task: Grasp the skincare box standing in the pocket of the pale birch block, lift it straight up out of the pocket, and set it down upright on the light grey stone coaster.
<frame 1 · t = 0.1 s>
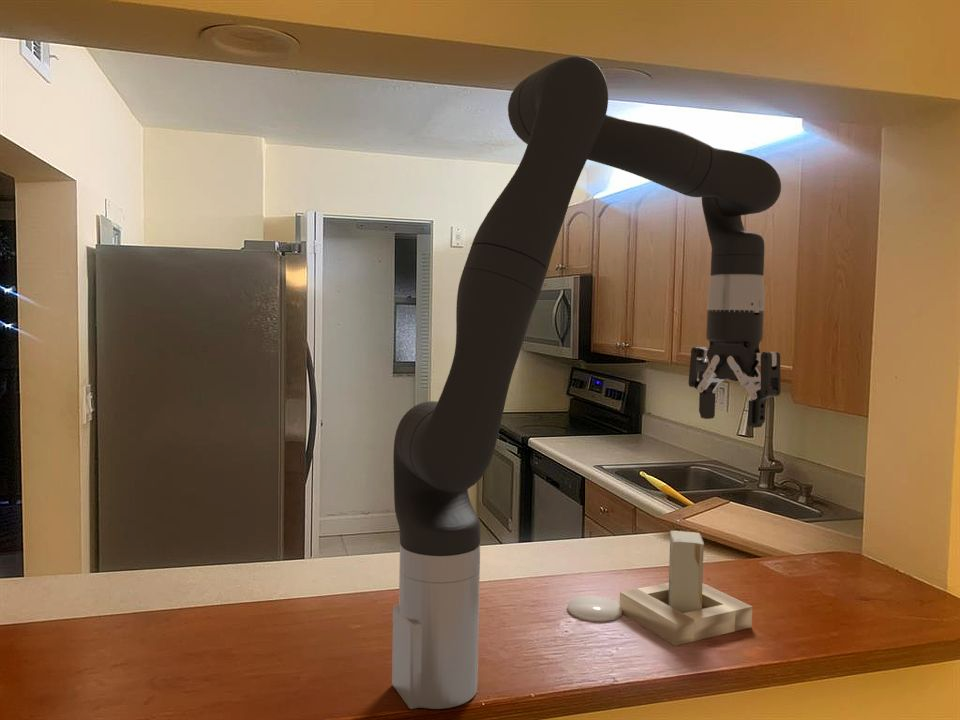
hand: (730, 422, 101), 29 cm above the countertop, tool pointing down, fingers open, 8 cm apart
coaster: (594, 610, 106), on the countertop
skincare box: (683, 620, 103), resting in pocket block
pocket block: (683, 619, 103), on the countertop
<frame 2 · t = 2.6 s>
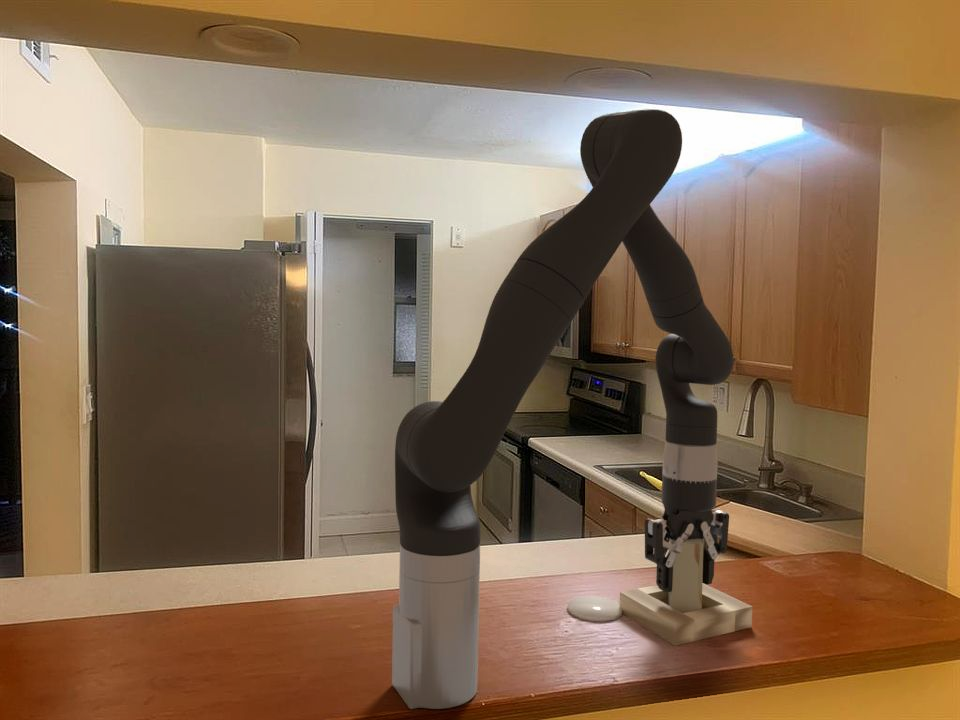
hand: (685, 586, 103), 5 cm above the countertop, tool pointing down, fingers closed on skincare box, 7 cm apart
skincare box: (683, 620, 103), resting in pocket block, touching gripper
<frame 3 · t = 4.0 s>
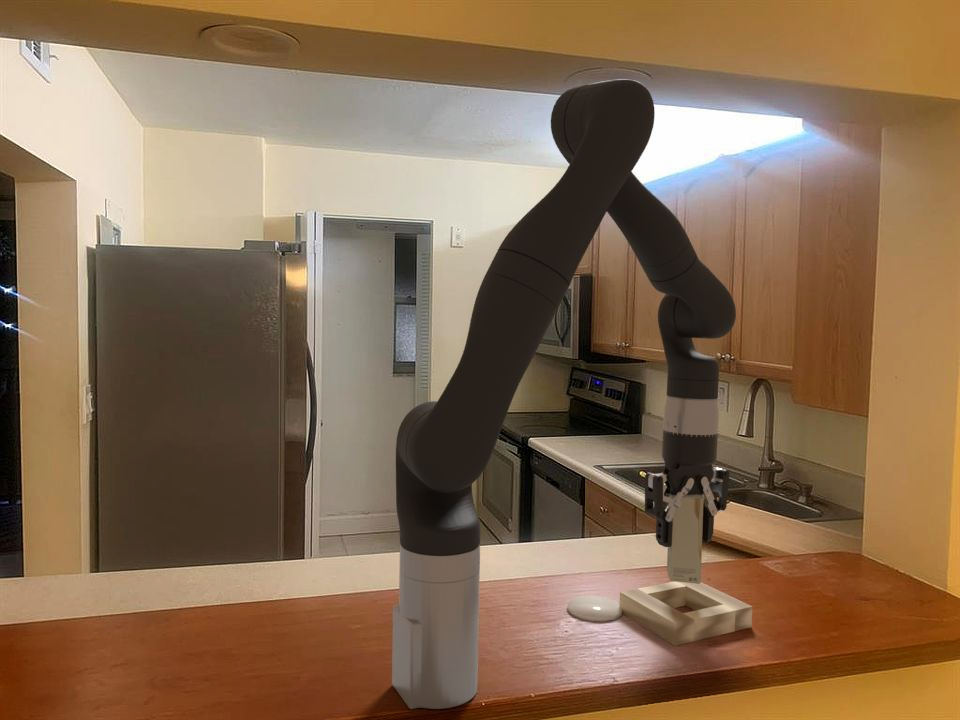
hand: (684, 542, 103), 11 cm above the countertop, tool pointing down, fingers closed on skincare box, 7 cm apart
skincare box: (683, 577, 103), point 6 cm above the countertop, touching gripper
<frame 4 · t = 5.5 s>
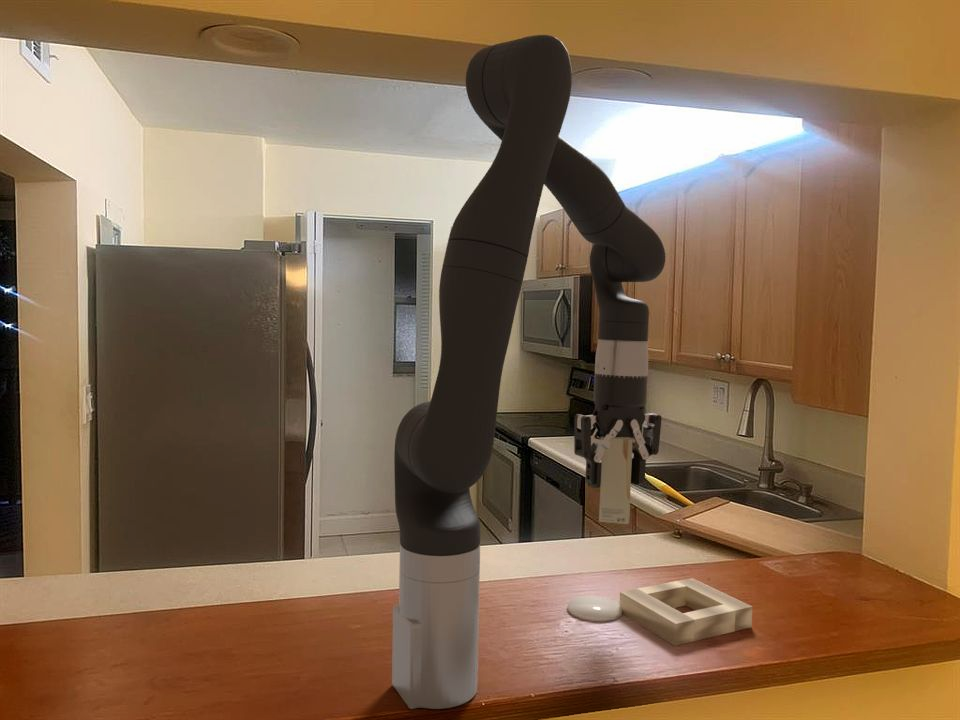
hand: (615, 485, 104), 19 cm above the countertop, tool pointing down, fingers closed on skincare box, 7 cm apart
skincare box: (614, 519, 104), point 14 cm above the countertop, touching gripper
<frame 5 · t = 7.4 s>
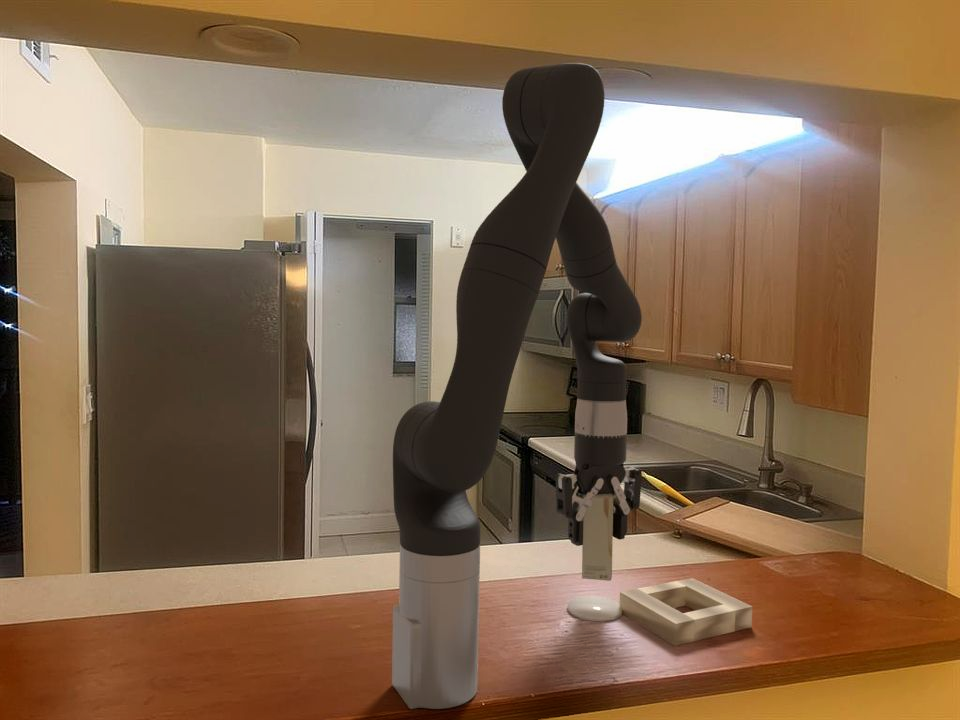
hand: (597, 540, 105), 11 cm above the countertop, tool pointing down, fingers closed on skincare box, 7 cm apart
skincare box: (597, 574, 106), point 5 cm above the countertop, touching gripper
when the fingers open (7 cm above the countertop, at t = 8.8 s): skincare box drops 1 cm, resting on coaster.
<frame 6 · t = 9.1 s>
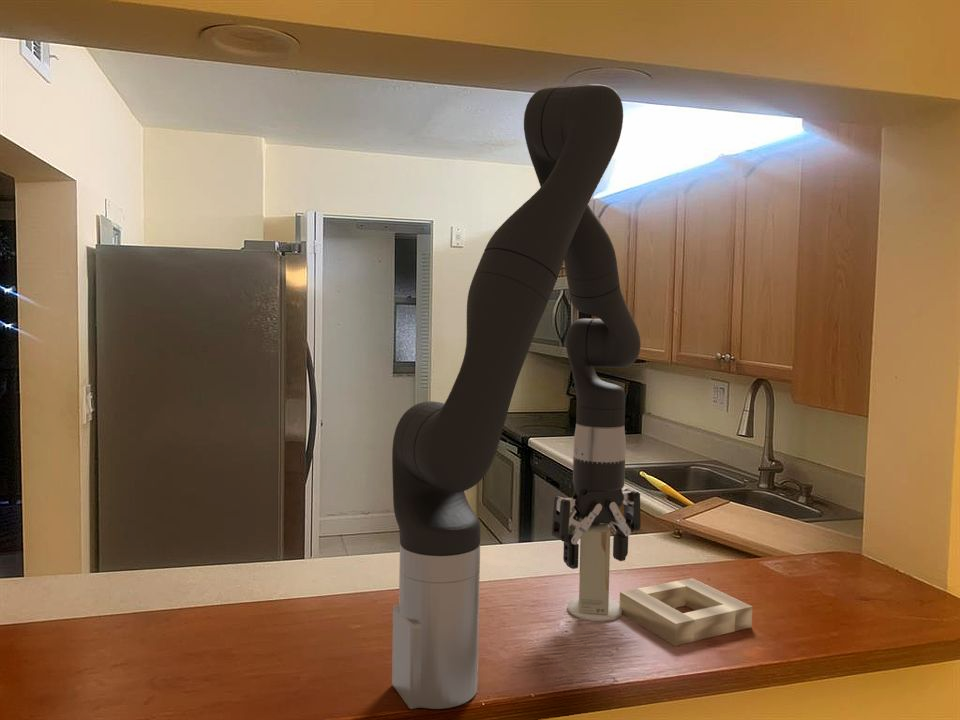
hand: (596, 563, 106), 7 cm above the countertop, tool pointing down, fingers open, 8 cm apart
skincare box: (593, 607, 106), resting on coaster
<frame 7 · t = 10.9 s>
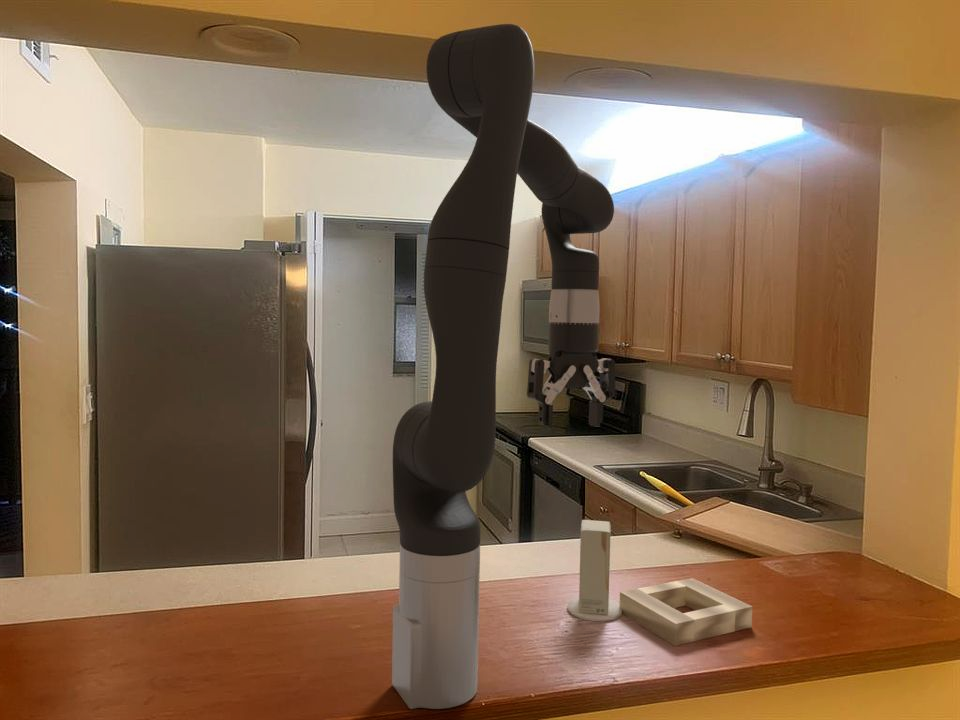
hand: (571, 427, 108), 27 cm above the countertop, tool pointing down, fingers open, 8 cm apart
nothing on the countertop moved.
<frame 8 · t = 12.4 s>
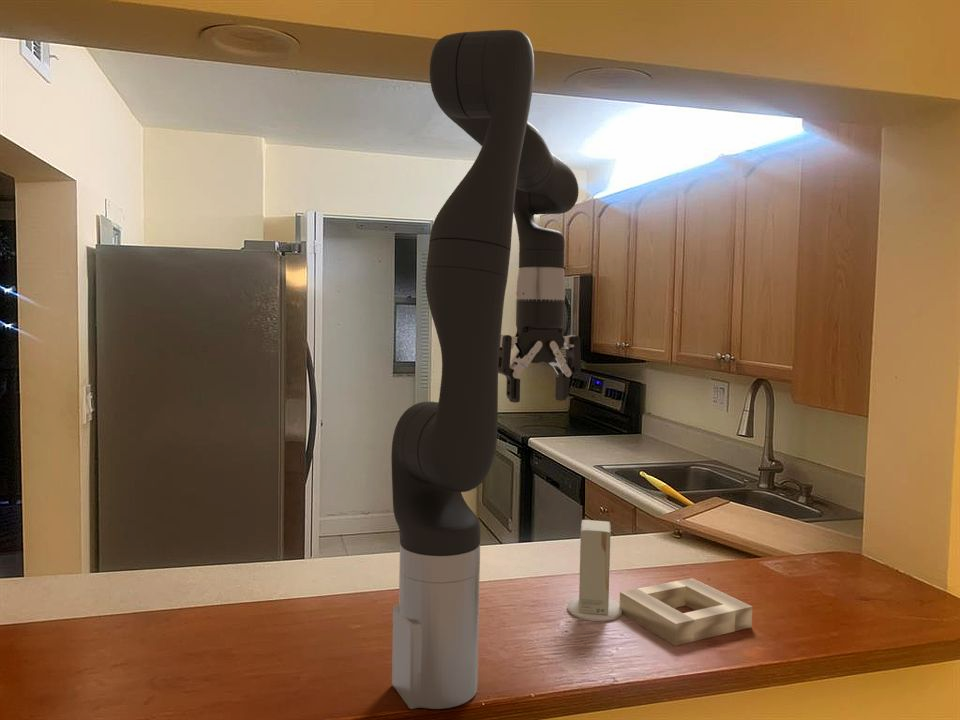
hand: (538, 401, 112), 30 cm above the countertop, tool pointing down, fingers open, 8 cm apart
nothing on the countertop moved.
at the end: skincare box 0.2 cm from the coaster (horizontally); skincare box tilted 0°; the gripper is holding nothing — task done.
